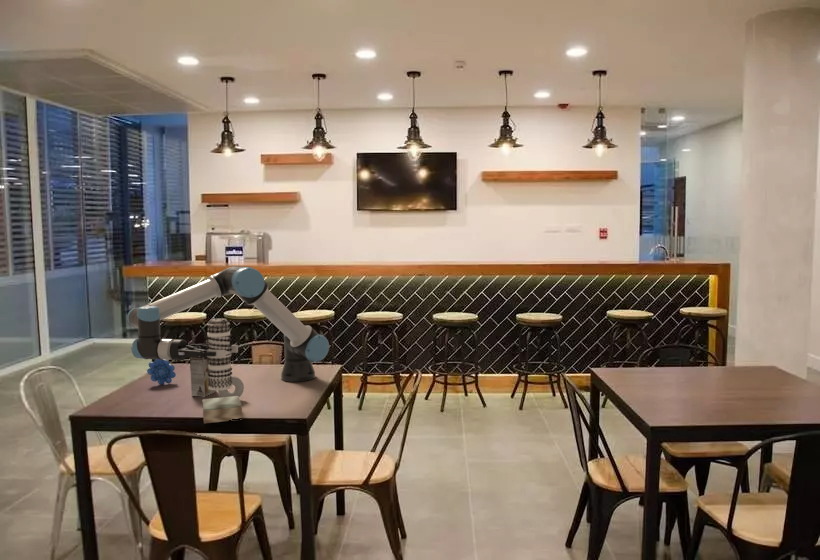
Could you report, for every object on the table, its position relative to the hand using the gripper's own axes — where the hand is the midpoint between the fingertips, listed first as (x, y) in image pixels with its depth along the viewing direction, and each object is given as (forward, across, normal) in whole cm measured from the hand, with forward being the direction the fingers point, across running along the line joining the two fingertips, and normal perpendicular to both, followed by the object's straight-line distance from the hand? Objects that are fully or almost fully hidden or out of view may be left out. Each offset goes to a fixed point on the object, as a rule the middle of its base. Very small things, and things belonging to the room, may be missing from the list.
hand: (231, 351), depth 225 cm
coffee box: (-26, -27, -24) cm, 45 cm away
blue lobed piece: (-53, -38, -24) cm, 69 cm away
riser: (-5, 0, -24) cm, 24 cm away
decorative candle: (-5, 0, -14) cm, 14 cm away
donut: (-11, -20, -24) cm, 33 cm away
